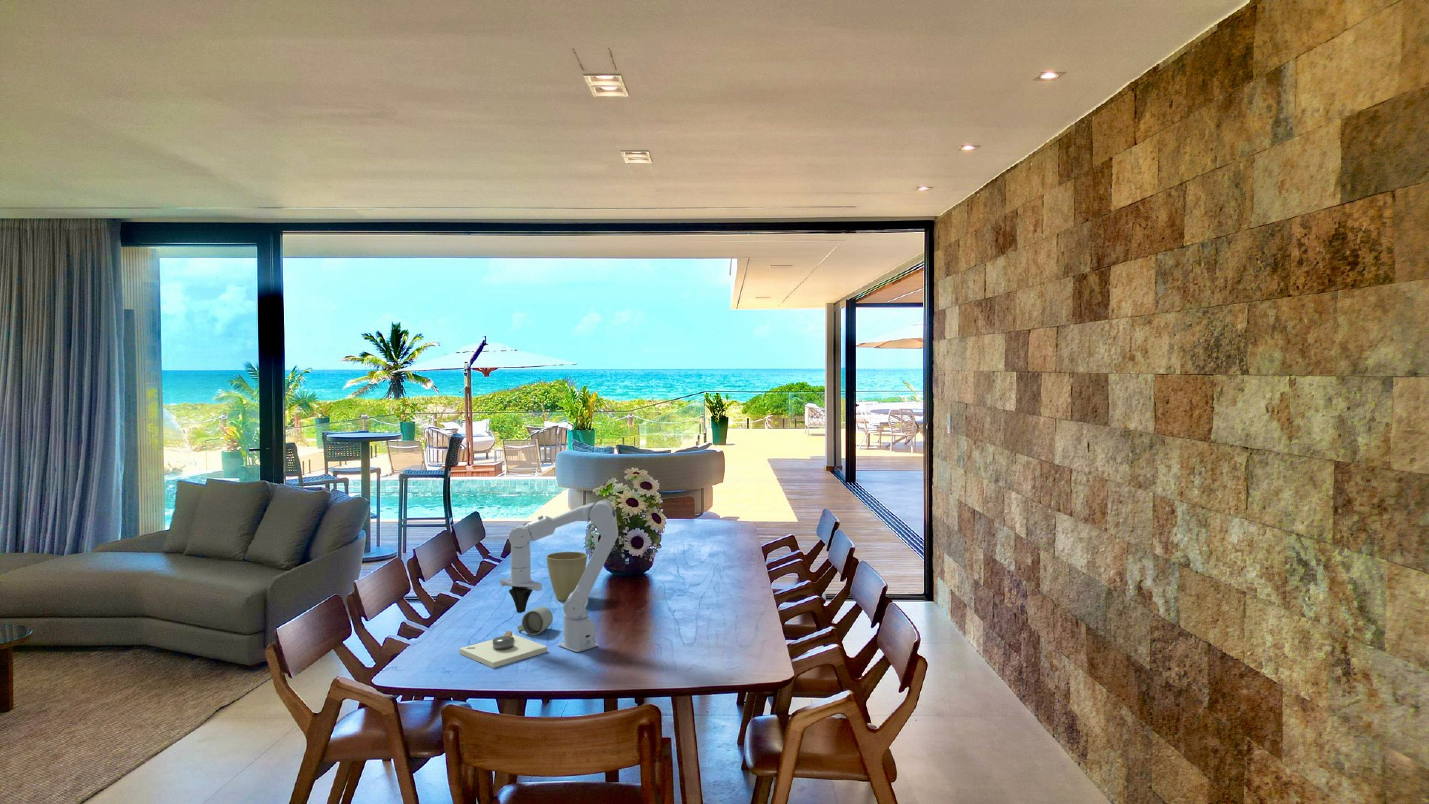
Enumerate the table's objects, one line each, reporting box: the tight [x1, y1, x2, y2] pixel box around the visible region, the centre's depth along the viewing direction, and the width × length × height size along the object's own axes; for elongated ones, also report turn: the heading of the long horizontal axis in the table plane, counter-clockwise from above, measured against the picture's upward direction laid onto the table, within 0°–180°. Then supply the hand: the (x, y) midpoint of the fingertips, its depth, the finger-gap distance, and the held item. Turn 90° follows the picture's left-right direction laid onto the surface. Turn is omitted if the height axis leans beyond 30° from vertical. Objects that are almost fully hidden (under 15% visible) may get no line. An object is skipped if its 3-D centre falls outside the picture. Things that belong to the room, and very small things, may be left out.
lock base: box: [458, 633, 548, 669], centre depth 226 cm, size 18×18×2 cm
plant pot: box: [545, 551, 588, 602], centre depth 286 cm, size 15×15×16 cm
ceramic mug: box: [516, 606, 554, 636], centre depth 247 cm, size 11×8×8 cm
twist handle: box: [492, 630, 514, 650], centre depth 229 cm, size 11×6×2 cm, turn 3°
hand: (521, 612), depth 232 cm, fingers closed
